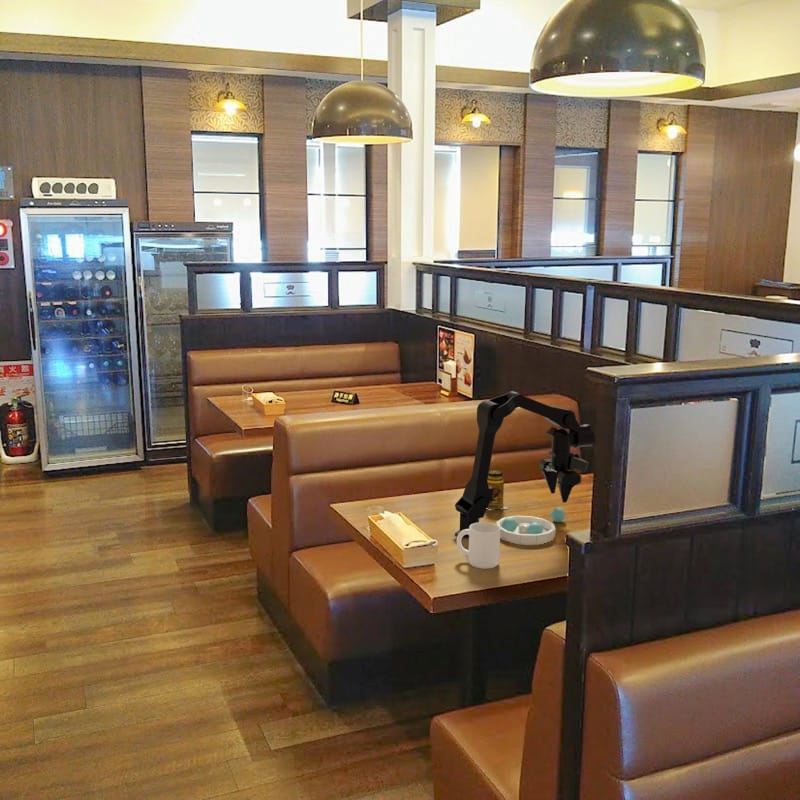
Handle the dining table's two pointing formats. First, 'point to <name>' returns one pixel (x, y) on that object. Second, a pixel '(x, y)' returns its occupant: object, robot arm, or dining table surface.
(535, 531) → the bead
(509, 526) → the bead
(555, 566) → the dining table surface
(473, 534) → the mug
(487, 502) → the robot arm
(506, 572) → the dining table surface
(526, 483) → the dining table surface
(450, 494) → the dining table surface
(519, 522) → the groove tray
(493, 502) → the condiment
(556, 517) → the bead
